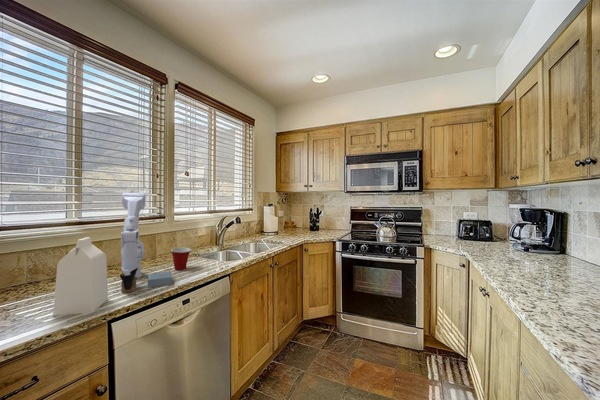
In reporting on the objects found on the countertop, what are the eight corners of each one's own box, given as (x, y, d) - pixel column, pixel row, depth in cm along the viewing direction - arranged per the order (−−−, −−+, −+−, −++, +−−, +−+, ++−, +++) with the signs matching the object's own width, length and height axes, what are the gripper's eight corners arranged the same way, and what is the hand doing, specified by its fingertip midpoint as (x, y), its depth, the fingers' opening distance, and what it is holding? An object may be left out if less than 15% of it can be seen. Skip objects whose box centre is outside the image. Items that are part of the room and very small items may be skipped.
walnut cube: (123, 289, 112) (123, 278, 112) (136, 287, 114) (136, 276, 114) (121, 292, 107) (121, 281, 107) (134, 291, 110) (135, 280, 110)
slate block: (148, 281, 122) (148, 274, 122) (170, 279, 128) (171, 271, 128) (147, 288, 114) (147, 279, 114) (171, 285, 119) (172, 277, 119)
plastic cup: (182, 272, 137) (182, 251, 137) (165, 270, 140) (166, 250, 140) (194, 267, 148) (195, 247, 148) (179, 265, 150) (179, 246, 150)
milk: (92, 312, 89) (94, 241, 89) (53, 315, 86) (54, 241, 86) (107, 299, 100) (109, 235, 100) (73, 301, 97) (75, 236, 97)
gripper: (138, 259, 106) (137, 290, 106) (141, 252, 119) (141, 280, 119) (118, 261, 103) (117, 293, 103) (124, 253, 116) (123, 282, 116)
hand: (129, 286), depth 111 cm, fingers open, 7 cm apart
